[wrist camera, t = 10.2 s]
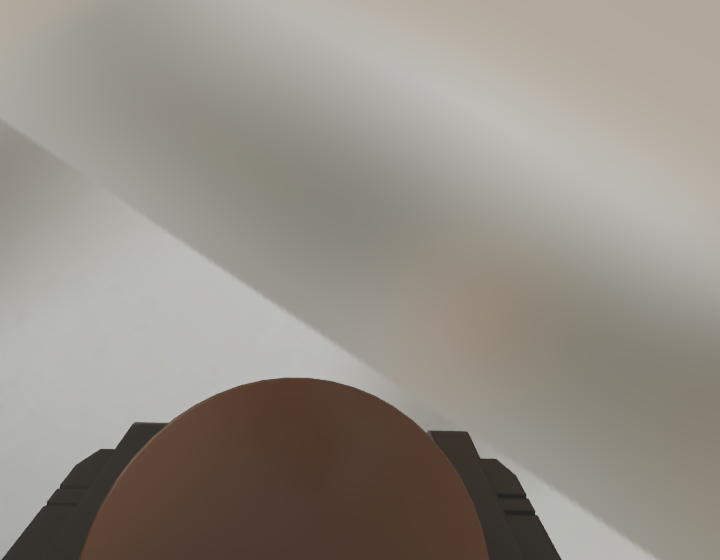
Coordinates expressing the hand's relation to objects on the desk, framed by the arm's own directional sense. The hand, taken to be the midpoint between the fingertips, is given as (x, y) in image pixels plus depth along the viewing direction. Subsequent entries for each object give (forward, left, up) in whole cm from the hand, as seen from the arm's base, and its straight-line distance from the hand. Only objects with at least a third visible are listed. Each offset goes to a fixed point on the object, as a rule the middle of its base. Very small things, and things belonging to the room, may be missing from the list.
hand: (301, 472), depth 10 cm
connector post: (0, -2, -5) cm, 6 cm away
